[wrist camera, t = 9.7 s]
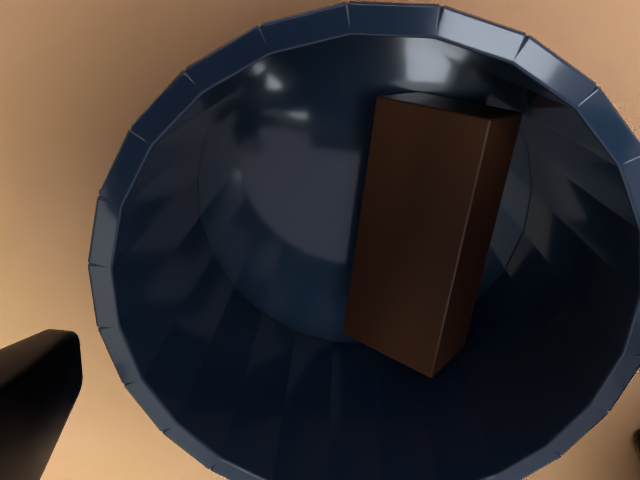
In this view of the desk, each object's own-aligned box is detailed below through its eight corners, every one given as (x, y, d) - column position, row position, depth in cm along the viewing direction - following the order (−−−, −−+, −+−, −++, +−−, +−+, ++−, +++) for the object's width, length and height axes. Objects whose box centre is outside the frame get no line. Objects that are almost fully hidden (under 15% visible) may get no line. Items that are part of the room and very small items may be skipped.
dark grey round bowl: (588, 267, 17) (729, 415, 11) (294, 388, 20) (268, 567, 13) (457, -75, 14) (553, -151, 7) (118, 123, 16) (-32, 195, 10)
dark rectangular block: (380, 308, 18) (464, 346, 16) (342, 333, 16) (431, 379, 14) (417, 91, 15) (524, 112, 13) (376, 95, 13) (491, 119, 12)
